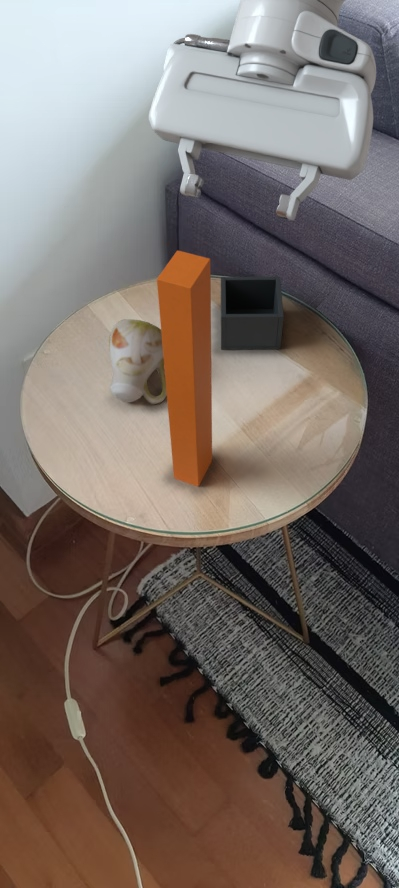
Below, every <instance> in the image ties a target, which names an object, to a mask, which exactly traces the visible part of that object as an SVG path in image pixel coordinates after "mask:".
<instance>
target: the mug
mask: <svg viewBox="0 0 399 888" xmlns="http://www.w3.org/2000/svg"><path fill="white" fill-rule="evenodd" d="M108 350H109V355H110V361H111V365H112V378H111V382H110V385H109V389H110V392H111V393H112V395H113V396H114V398H116V399H117V400H119V401H122V402H125V403H132V402H135V401H137V400H139V399H141V397H144V399H145V400H146V401H147V402H148V403H150V404H152V405H156V404H159V403H162V402H163V401H164V400H165V399H166V398H167V391H166V380H165V368H164V357H163V345H162V333H161V327H158V326H157V325H155V324H153V323H150V322H147V321H144V320H140V319H132V318H127V319H125V318H124V319H121V320H119V321H117V322H116V323H115V324H114V325H112V328H111V331H110V334H109V338H108ZM155 370H157V373H158V377H159V380H160V385H161V393H160V394H159V395H153V394H151V392H150V391H149V387H148V382H147V381H148V380H149V378H150V377H151V376H152V374H153V373H154V372H155Z"/></svg>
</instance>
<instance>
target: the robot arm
mask: <svg viewBox="0 0 399 888" xmlns="http://www.w3.org/2000/svg"><path fill="white" fill-rule="evenodd" d="M345 2H346V0H240V1H239V5H238V9H237V12H236V16H235V20H234V23H233V27H232V32H231V35H230V39H225V38H219V37H205V36H201V35H199V34H193V33H189V34H186V35H185V36H184V37H182V38H178V39H177V40H175V41H174V42H173V43H171V44H170V45H169V46H168V48H167V51H166V54H165V58H164V62H163V67H162V75H161V78H160V80H159V82H158V85H157V88H156V90H155V93H154V96H153V99H152V102H151V105H150V108H149V111H148V122H149V125H150V127H151V129H152V131H153V132H154V134H156V135H157V136H158V137H159V138H160V139H161V140H163V141H165V142H169V143H170V142H171V143H173V144H179V145H178V148H177V153H178V157H179V162H180V164H181V168H182V172H183V176H182V179H181V182H180V186H179V191H180V193H181V195H183V196H185V197H190V198H193V199H199V198H200V196H201V194H202V191H201V190H202V189H203V188H204V187H203V186H204V183H205V180H204V179H203V178H202V177H201V176H200V175H198V174H196V170H195V165H194V160H199V159H200V154H201V152H202V150H207V151H212V152H215V153H216V152H217V153H221V154H225V155H231V156H234V157H235V156H236V157H240V158H245V159H250V160H253V161H258V162H263V163H267V164H273V165H276V166H277V165H278V166H281V167H282V166H283V167H286V168H291V169H297V170H300V172H299V177H300V178H301V182H300V183H299V184H298V186H297V187H296V188H295V189H294V190H293V191H292V192H291V193H290V194H283V193H280V197H279V199H278V201H279V205H278V206H277V207H276V210H275V211H276V212H275V214H276V216H277V218H280V219H284V220H288V221H291V222H292V221H295V219H296V217H297V213H298V210H299V206H300V203H302V202H303V201H304V200H305V199H306V198H307V197H308V196H309V195H310V194H311V193H312V192H313V191H314V190H315V189H316V188H317V187H318V184H319V181H320V178H321V175H324V176H328V177H334V178H339V179H343V180H348V181H351V180H354V179H355V178H356V177H358V176H360V174H361V173H362V172H363V171H364V168H365V166H366V163H367V158H368V155H369V150H370V144H371V140H372V133H373V126H374V108H373V100H372V96H371V94H372V92H373V90H374V88H375V84H376V79H377V64H376V59H375V56H374V52H373V50H372V48H371V46H370V45H369V44H368V43H367V42H366V41H364V40H362V39H360V38H358V37H357V36H355V35H353V34H351V33H349V32H347V31H346V30H344V29H342V28H340V27H339V19H340V17H339V16H340V12H341V11H340V10H341V9H342V6H343V4H344V3H345ZM183 44H184V45H183Z"/></svg>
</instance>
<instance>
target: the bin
mask: <svg viewBox="0 0 399 888" xmlns="http://www.w3.org/2000/svg"><path fill="white" fill-rule="evenodd" d="M281 282H282V281H281V276H221V277H220V350H221V351H223V350H224V351H225V350H226V351H227V350H231V351H233V350H234V351H235V350H237V351H238V350H281V348H282V346H281V345H282V339H283V328H284V318H285V316H284V315H285V314H284V304H283V296H282V295H283V292H282V283H281Z"/></svg>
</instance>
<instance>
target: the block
mask: <svg viewBox="0 0 399 888" xmlns="http://www.w3.org/2000/svg"><path fill="white" fill-rule="evenodd" d="M211 277H212V276H211V258H209V257H206V256H201V255H197V254H193V253H190V252H187V251H186V252H185V251H182V250H176V252H175V253H174V255H173V256H172V257H171V259H170V260H169V261H168V263H167V264H166V265H165V267H164V268H163V270H161V273H160V274H159V275H158V277H157V278H156V287H157V297H158V309H159V310H158V311H159V320H160V321H159V322H160V329H161V333H162V345H163V357H164V372H165V380H166V391H167V395H166V401H167V402H166V403H167V413H168V424H169V435H170V447H171V448H170V449H171V458H172V470H173V479H176V480H178V481H181V482H184V483H186V484H189V485H193V486H195V487H199V486H200V484H201V482H202V481H203V479H204V477H205V476H206V473H207V471H208V470H209V468H210V465H211V463H212V461H213V410H212V409H213V408H212V407H213V406H212V405H213V404H212V403H213V402H212V401H213V400H212V399H213V397H212V395H213V393H212V391H213V390H212V291H211V290H212V287H211V286H212V285H211Z"/></svg>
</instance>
